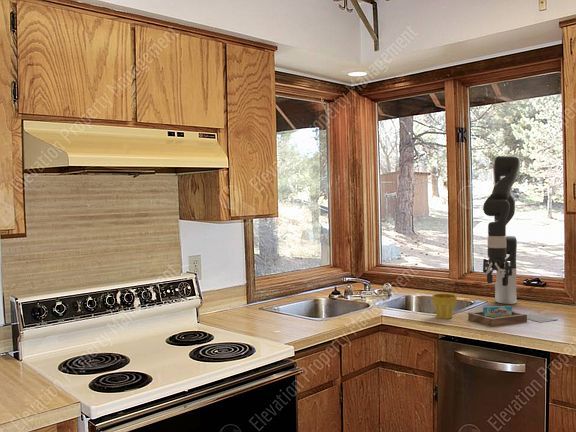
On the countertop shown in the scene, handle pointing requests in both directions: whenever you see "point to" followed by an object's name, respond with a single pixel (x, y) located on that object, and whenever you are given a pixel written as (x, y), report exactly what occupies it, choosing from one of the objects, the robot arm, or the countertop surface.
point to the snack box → (497, 311)
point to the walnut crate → (497, 319)
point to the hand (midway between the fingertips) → (497, 284)
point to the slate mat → (539, 318)
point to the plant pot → (444, 305)
